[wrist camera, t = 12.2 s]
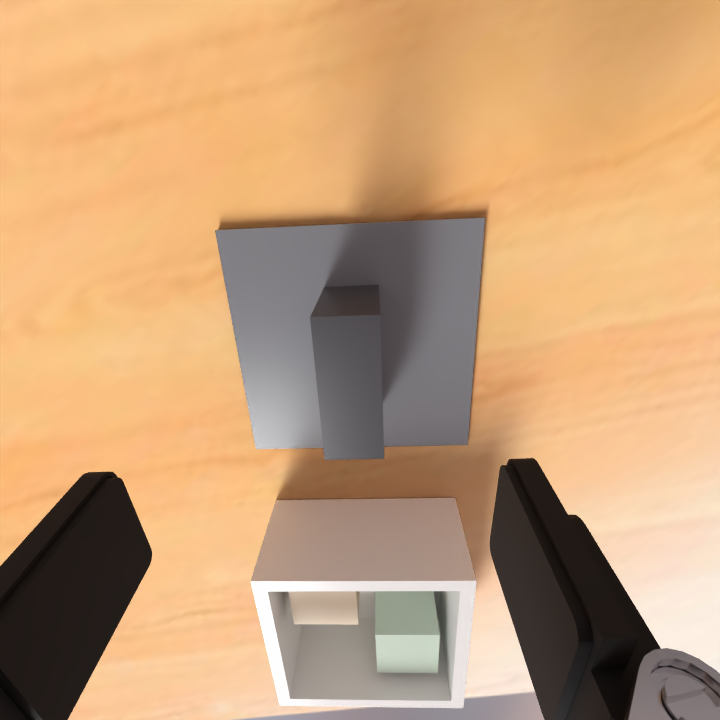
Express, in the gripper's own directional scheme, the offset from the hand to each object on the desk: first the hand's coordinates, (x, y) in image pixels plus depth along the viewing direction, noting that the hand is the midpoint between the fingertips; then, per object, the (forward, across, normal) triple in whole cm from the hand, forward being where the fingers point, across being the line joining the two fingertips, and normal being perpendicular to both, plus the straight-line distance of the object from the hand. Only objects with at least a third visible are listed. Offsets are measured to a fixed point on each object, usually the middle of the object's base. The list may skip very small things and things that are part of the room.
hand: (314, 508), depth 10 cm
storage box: (+12, -1, +18) cm, 22 cm away
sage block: (+11, -3, +21) cm, 24 cm away
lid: (+13, -1, +2) cm, 14 cm away
